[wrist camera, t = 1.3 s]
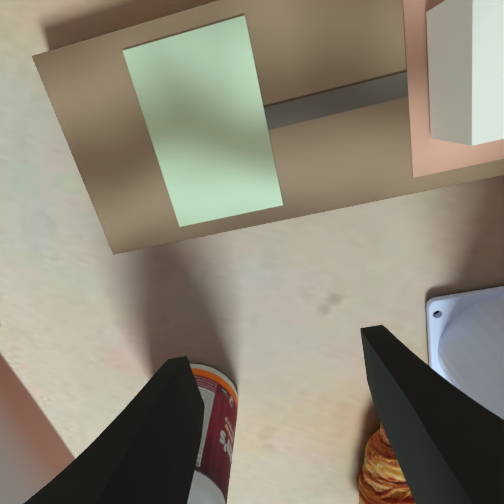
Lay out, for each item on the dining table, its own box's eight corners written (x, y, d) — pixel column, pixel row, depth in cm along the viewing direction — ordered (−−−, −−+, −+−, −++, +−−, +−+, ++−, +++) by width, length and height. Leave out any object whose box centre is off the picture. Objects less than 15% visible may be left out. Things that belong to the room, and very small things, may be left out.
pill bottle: (238, 427, 26) (216, 641, 15) (158, 422, 26) (82, 630, 16) (239, 361, 24) (212, 562, 13) (150, 357, 24) (55, 550, 13)
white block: (525, 117, 15) (593, 119, 12) (430, 138, 16) (471, 145, 13) (533, -17, 13) (615, -57, 10) (426, 12, 14) (472, -18, 11)
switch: (519, 162, 18) (541, 167, 16) (123, 244, 21) (112, 255, 19) (532, -82, 14) (563, -104, 13) (51, 60, 17) (30, 55, 16)
